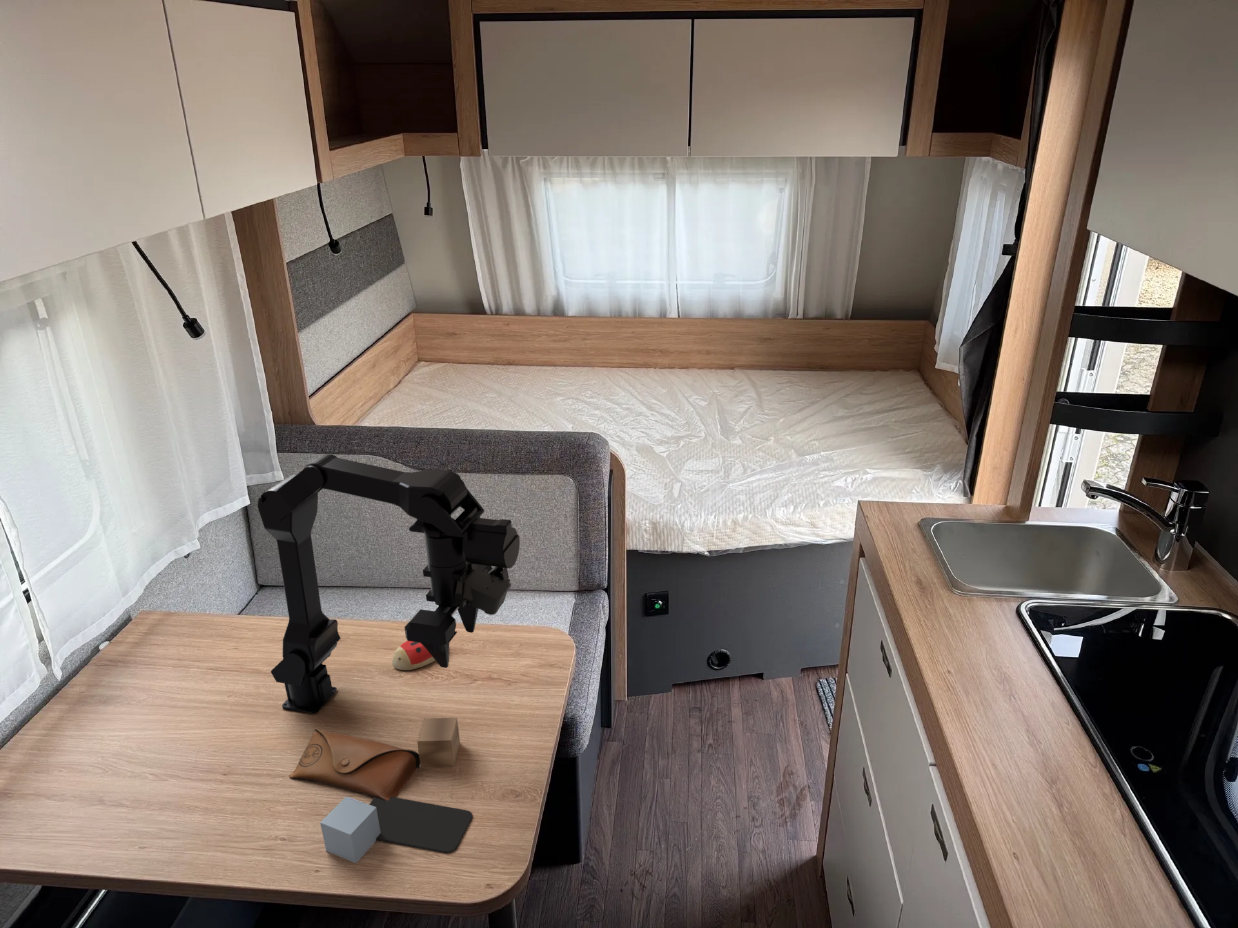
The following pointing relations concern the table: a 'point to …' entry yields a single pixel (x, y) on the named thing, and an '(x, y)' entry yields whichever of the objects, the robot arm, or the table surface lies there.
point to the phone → (421, 824)
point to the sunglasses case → (356, 764)
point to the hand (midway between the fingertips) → (457, 648)
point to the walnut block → (438, 742)
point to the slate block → (350, 829)
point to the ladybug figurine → (411, 656)
